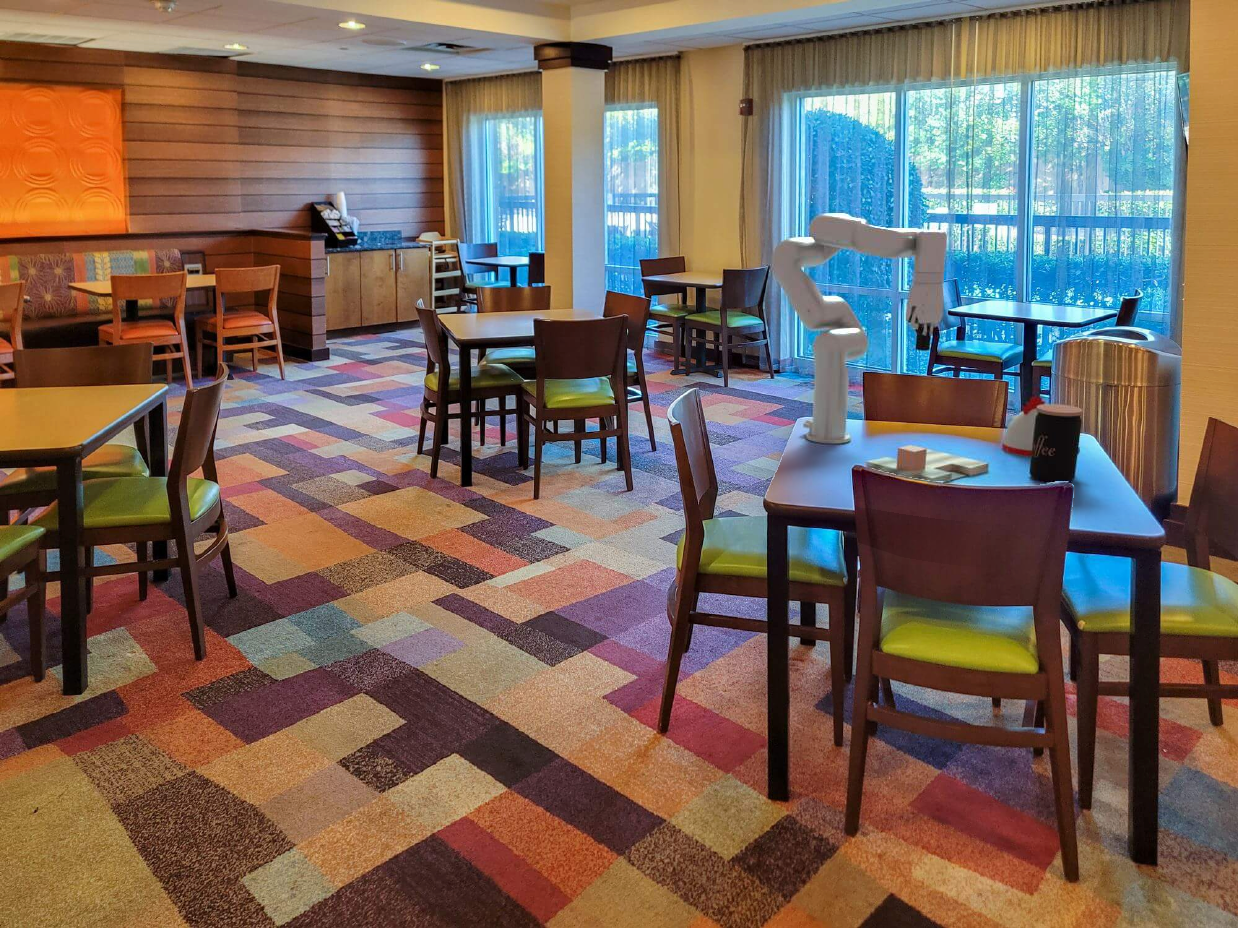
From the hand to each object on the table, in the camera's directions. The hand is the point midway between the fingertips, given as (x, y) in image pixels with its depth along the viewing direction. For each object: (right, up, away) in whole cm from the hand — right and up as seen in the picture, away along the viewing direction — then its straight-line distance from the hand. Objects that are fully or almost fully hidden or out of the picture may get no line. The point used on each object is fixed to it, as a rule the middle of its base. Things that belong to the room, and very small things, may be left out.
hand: (922, 349), depth 276 cm
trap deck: (0, -31, -5) cm, 32 cm away
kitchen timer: (+34, -26, +17) cm, 46 cm away
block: (-6, -31, -11) cm, 33 cm away
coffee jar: (+29, -34, -12) cm, 46 cm away
